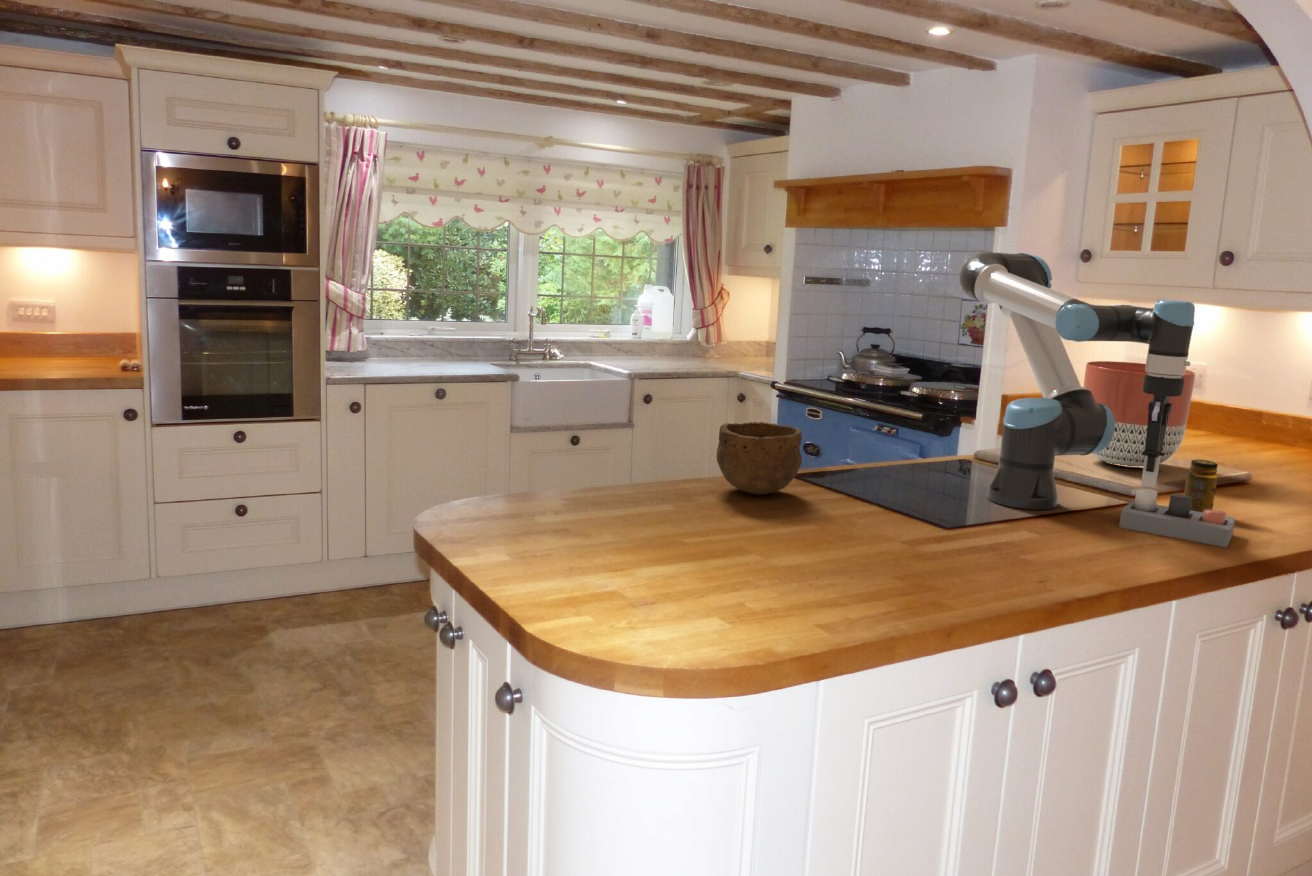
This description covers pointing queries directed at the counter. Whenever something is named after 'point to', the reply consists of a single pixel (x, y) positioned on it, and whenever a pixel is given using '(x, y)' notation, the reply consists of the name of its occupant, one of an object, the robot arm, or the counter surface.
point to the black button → (1179, 505)
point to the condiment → (1201, 484)
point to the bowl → (759, 455)
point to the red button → (1214, 516)
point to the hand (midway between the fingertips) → (1148, 485)
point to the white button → (1145, 499)
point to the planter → (1134, 410)
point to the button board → (1177, 525)
